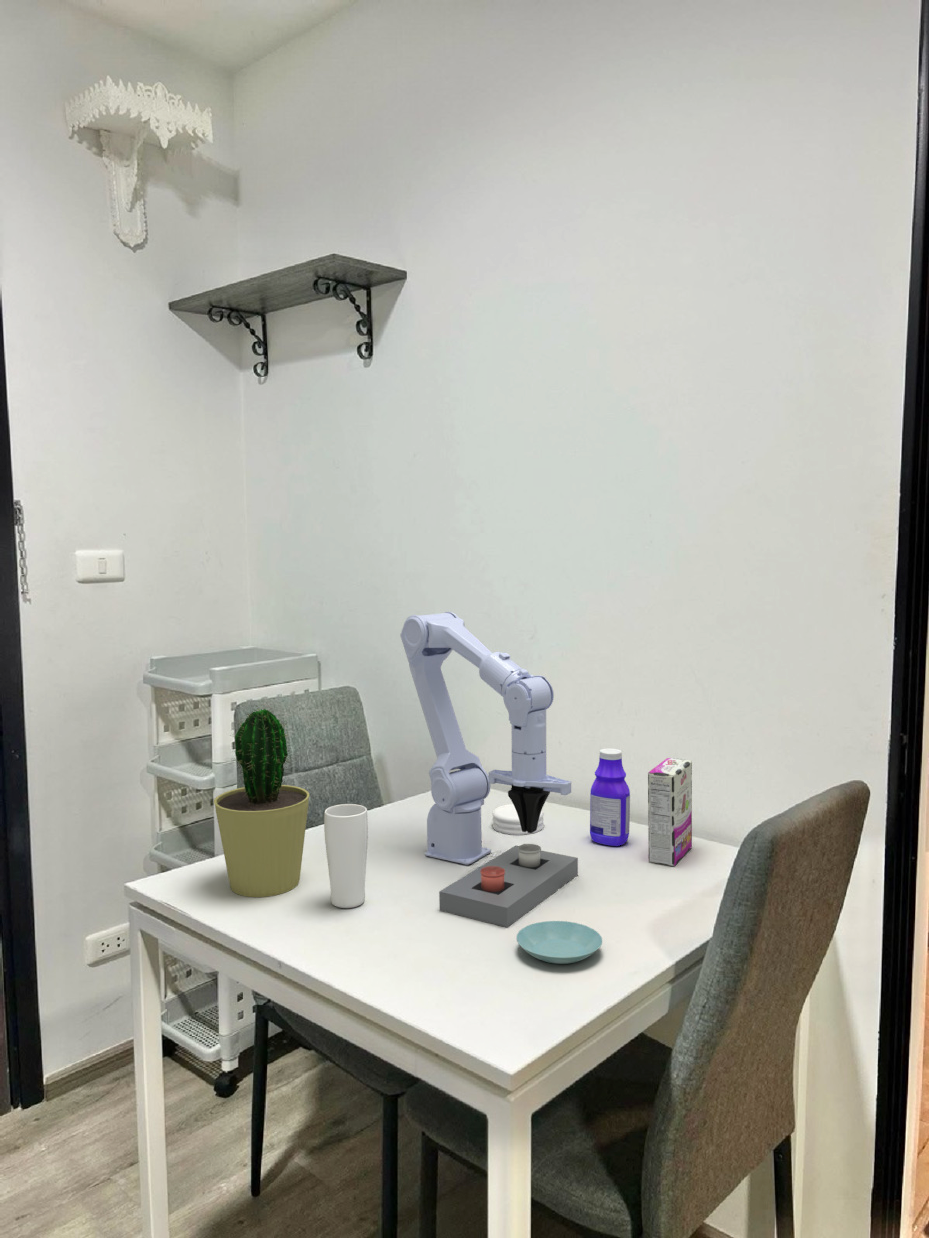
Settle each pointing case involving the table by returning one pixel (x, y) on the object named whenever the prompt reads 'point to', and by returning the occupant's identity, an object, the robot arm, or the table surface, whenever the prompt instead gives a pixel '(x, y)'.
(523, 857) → the sample container
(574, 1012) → the table surface
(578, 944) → the saucer
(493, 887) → the red button
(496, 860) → the console
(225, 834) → the potted cactus
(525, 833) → the white ridged round container
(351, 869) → the drinking glass
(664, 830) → the candy bar box
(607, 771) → the bottle
